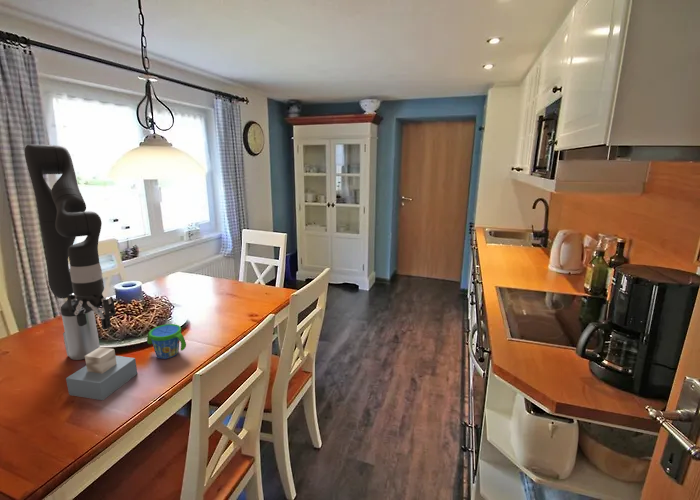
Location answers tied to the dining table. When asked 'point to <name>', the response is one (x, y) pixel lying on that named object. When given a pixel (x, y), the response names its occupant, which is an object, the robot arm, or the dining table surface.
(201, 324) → the dining table surface
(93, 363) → the cream cube
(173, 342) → the snack cup
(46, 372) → the dining table surface
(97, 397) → the slate stand
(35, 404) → the dining table surface
